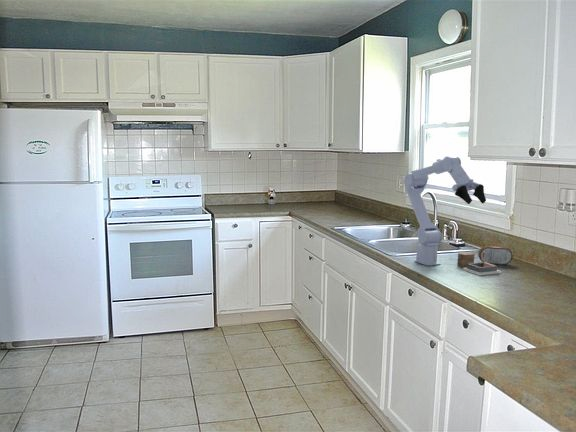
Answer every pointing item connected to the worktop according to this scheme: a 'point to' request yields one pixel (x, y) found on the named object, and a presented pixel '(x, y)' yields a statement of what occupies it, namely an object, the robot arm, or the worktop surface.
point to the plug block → (465, 259)
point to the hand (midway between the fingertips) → (477, 202)
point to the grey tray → (481, 268)
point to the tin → (495, 255)
